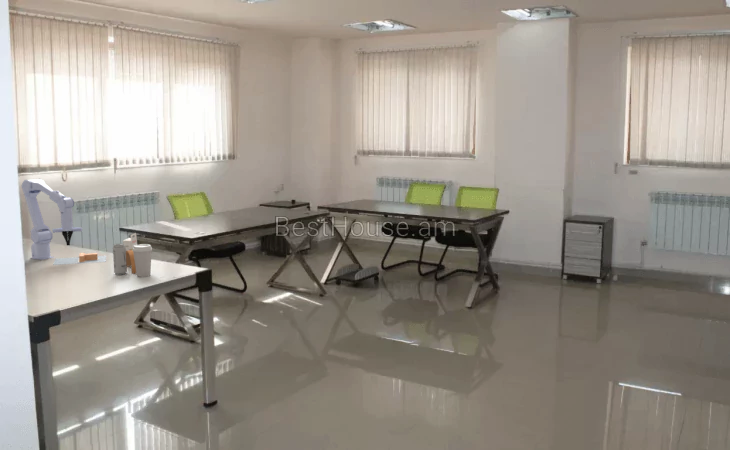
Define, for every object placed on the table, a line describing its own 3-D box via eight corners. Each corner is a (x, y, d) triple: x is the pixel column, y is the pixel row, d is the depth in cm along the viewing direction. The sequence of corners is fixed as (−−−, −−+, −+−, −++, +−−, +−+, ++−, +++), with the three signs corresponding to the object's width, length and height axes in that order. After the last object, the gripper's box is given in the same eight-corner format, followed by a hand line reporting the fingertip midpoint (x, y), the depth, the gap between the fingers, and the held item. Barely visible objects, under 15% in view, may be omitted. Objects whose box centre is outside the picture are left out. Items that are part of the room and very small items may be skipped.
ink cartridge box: (129, 258, 368) (128, 232, 366) (138, 258, 368) (136, 232, 366) (123, 261, 359) (122, 234, 357) (132, 261, 359) (131, 235, 357)
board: (52, 265, 347) (52, 265, 347) (55, 259, 364) (55, 258, 364) (105, 262, 356) (105, 261, 356) (106, 256, 373) (106, 255, 373)
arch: (131, 273, 331) (130, 254, 329) (125, 266, 348) (124, 247, 347) (143, 272, 334) (142, 253, 332) (136, 265, 351) (135, 246, 350)
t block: (79, 261, 356) (79, 256, 355) (80, 258, 365) (79, 252, 364) (97, 260, 359) (97, 255, 358) (97, 257, 368) (97, 251, 368)
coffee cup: (157, 274, 330) (156, 244, 327) (145, 278, 321) (144, 248, 318) (141, 272, 333) (140, 243, 331) (129, 276, 324) (127, 246, 322)
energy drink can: (125, 275, 327) (123, 245, 325) (112, 275, 327) (111, 245, 325) (128, 272, 333) (127, 243, 331) (116, 272, 333) (114, 243, 331)
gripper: (51, 221, 349) (52, 247, 351) (81, 220, 354) (82, 245, 356) (52, 219, 355) (54, 244, 357) (81, 218, 360) (83, 243, 362)
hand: (68, 245), depth 357 cm, fingers closed
